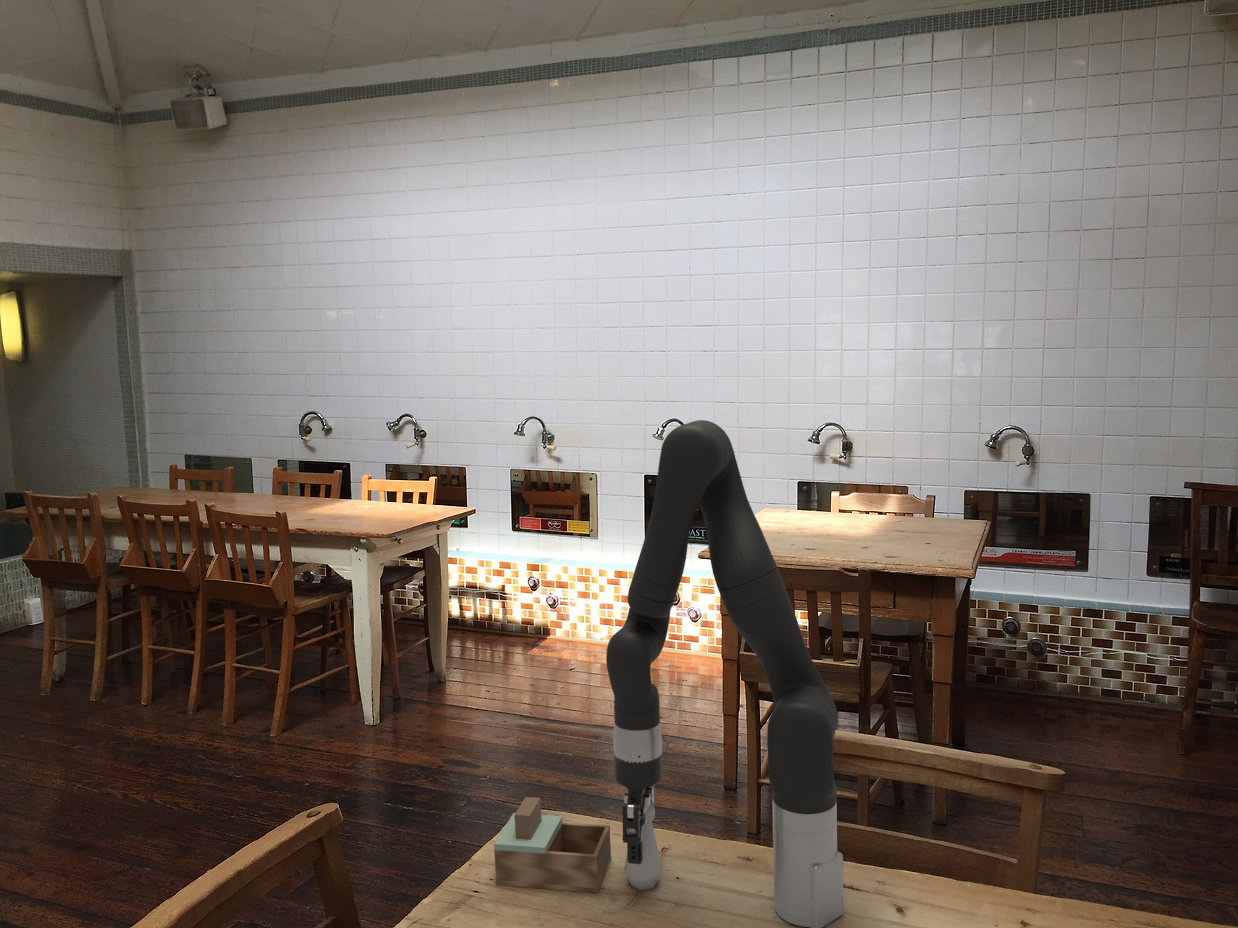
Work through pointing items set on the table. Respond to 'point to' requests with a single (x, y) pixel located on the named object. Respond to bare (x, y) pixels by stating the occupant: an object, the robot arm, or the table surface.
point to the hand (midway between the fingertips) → (640, 847)
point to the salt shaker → (646, 858)
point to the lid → (528, 829)
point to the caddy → (560, 861)
